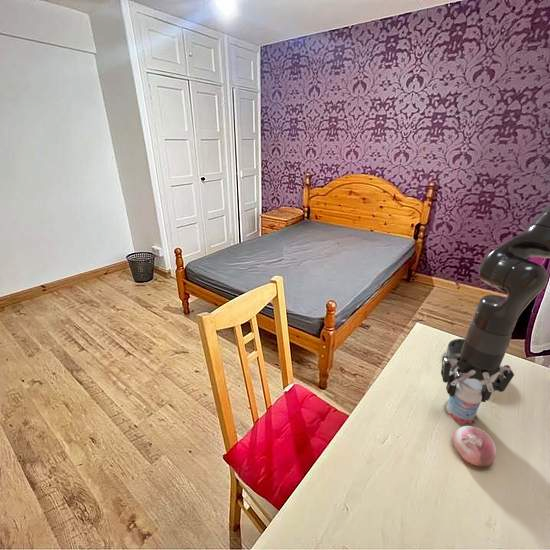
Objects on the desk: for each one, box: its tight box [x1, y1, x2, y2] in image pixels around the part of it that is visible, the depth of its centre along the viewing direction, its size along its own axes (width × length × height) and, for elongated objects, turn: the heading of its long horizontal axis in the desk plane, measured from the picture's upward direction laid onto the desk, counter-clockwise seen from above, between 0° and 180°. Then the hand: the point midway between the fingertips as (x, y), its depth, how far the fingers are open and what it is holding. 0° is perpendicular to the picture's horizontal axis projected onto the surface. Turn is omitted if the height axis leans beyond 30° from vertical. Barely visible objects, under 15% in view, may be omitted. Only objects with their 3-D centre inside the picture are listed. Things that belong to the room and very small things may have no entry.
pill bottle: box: [445, 378, 483, 424], centre depth 74 cm, size 6×6×11 cm
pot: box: [444, 338, 465, 372], centre depth 90 cm, size 11×11×6 cm
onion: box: [452, 425, 497, 467], centre depth 66 cm, size 8×8×7 cm
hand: (465, 396), depth 74 cm, fingers open, 6 cm apart
